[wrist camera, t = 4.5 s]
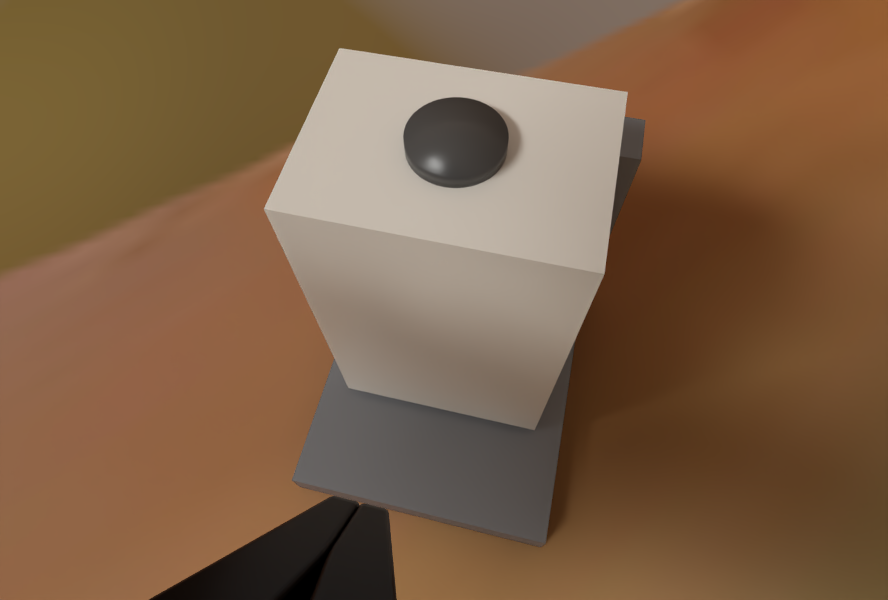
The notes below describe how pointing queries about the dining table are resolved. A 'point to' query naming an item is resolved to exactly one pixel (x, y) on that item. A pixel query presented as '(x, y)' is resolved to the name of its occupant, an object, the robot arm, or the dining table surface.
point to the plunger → (450, 227)
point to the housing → (447, 443)
